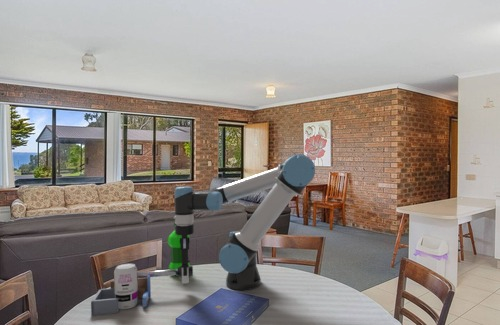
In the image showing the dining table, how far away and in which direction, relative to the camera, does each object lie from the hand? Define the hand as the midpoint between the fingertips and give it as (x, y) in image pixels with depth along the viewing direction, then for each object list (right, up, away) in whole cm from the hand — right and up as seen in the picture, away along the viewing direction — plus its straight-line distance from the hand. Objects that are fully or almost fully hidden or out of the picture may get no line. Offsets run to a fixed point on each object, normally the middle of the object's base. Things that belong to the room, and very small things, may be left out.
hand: (185, 280), depth 141 cm
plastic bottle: (-7, -5, +24) cm, 26 cm away
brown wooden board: (-22, -6, -4) cm, 23 cm away
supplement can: (-20, -6, -11) cm, 24 cm away
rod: (-7, -5, -6) cm, 10 cm away
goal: (-27, -6, -12) cm, 30 cm away
